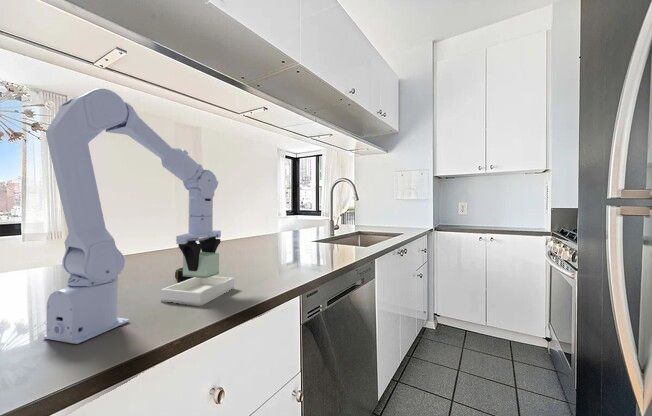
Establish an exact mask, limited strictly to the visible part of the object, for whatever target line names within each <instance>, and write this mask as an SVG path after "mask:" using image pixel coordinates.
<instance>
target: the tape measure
mask: <svg viewBox="0 0 652 416" xmlns="http://www.w3.org/2000/svg"><path fill="white" fill-rule="evenodd" d="M174 278H175V280H176V281H178V282H182V281H185V280H188V279H191V278H194V277H186V276H183V267H178V268H177V269H176V270H175V272H174Z"/></svg>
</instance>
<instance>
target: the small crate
mask: <svg viewBox="0 0 652 416" xmlns="http://www.w3.org/2000/svg"><path fill="white" fill-rule="evenodd" d="M182 268H183V276H186V277H197V278H209V277H211V276H217V275H219V274H220V252H215V253H209V252H202V251H200V255H199V263H198V269H197V271H189V270H188V266H187V263H186V259H185V257H184V255H183V254H182Z"/></svg>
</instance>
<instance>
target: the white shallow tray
mask: <svg viewBox="0 0 652 416" xmlns="http://www.w3.org/2000/svg"><path fill="white" fill-rule="evenodd" d="M233 288H234V289H235V277H226V276H217V275H214V276H211V277H209V278H197V277H194V278H191V279H188V280H185V281H183V282H182V281H179V282H178V283H175V284H172V285H170V286H167V287H163V288H161V289H160V302H161V303H167V302H173V303H172V304H176V303H179V305H185V304H186V306H195V307H202V306H203V305H205V304H207V303H209V302H211V301H213V300H215V299H217V298H219V297H220V296H223V295H224V293H225V294H227V293H228V292H230V291H232V290H234V289H233ZM231 289H232V290H231ZM229 290H230V291H229ZM226 292H227V293H226Z"/></svg>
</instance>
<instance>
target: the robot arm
mask: <svg viewBox="0 0 652 416" xmlns="http://www.w3.org/2000/svg"><path fill="white" fill-rule="evenodd" d="M103 131H105V132H106V133H110V134H117V135H118V134H119V135H126V136H128V137H130V138H131V139H133V140H134V141H136V143H138V144H140V146H142V147H144V148H145V149H147V150H148V151H150V152H151V153H153V154H154V155H155V156H157V157H159V158H160V160H161V165H162V167H163V168H164V169H165V170H166V171H168V172H170V173H171V174H173V176H175V177H177V178H178V179H179V180H180V181H182V183H183V187H184V188H185V190H187V191H188V232H187V233H183V234H179V235H176V237H175V238H176V239H175V241H176V242H175V243H176V244H177V245H178V248H179V250H180V251H181V253H182V256H183V255H184V257H185V259H186V263H187V266H188V270H189V271H197V269H198V263H199V255H200V252H209V253H217V249H218V247H219V245H220V244H221V243H222V242H221V236H222V235H221V234H222V231H221V230H216V229H215V230H213V227H214V225H213V221H214V220H213V217H214V216H213V214H214V213H213V211H214V210H213V208H214V207H213V206H214V202H213V201H214V197H215V191H216V189H217V188H218V185H219V180H217V177H216V175H215V174H214V172H213V171H212V170H209V169H204V167H203V165H202V164H201V163H198V162H197V161H195V160H194V159H193V158H192V157H191V156H190V155H189V152H188V151H187V150H186V149H181V148H180V147H179V148H178V147H175V148H173V147H171V146H170V145H169V144H168V143H167V142H166V141H165V140H164V139H163V138H162V137H161V136H160V135H159V134H158V133H157V132H156V131H154V130H153V128H151V127H150V126H149V125H148V124H147V123H146V122H145V121H144V120H143V119H142V118H141V117H140V116H139V115H138V114H137V112H136V111H135V109H134V107H133V106H132V105H131V104H130V103H128V102H127V101H124V99H123V98H122V97H121V95H119V94H117V93H116V92H115V91H113V90H110V89H107V88H99V87H98V88H95V89H93V90H91V91H88V92H87V93H84V94H83V95H80V96H76V97H73V98H70V99H69V100H67V101H66V102H63V103H62V104H60V105H59V106H58V111H57V113H56V114H55V116H54V118H53V119H52V120H51V122H50V124H49V125H48V127H47V129H46V131H45V137H46V141H47V146H48V150H49V155H50V158H51V163H52V167H53V171H54V176H55V180H56V181H55V182H56V184H57V189H58V193H59V198H60V202H61V206H62V210H63V215H64V219H65V223H66V228H67V233H68V234H67V236H66V239H65V240H64V246H65V252H64V255H63V258H62V267H63V269H64V271H65V272H66V273H68V274H69V278H68V279H67V285H65V287H63V288H61V289H58V290H56V291H53V292H52V293H50V294H49V296H48V298H47V302H46V334H45V335H43V339H46V340H52V341H57V342H63V343H69V344H73V345H74V344H75V345H77V344H81V343H82V342H86V341H88V340H89V339H92V338H94V337H97V336H99V335H101V334H104V333H106V332H108V331H111V330H113V329H115V328H117V327H119V326H122V325H124V324H127V323H128V322H130V319H129V318H125V317H118V299H119V298H118V291H119V290H118V289H119V288H118V285H119V284H118V281H119V280H118V276H119V275H120V274H121V272H122V271H123V270H124V267H125V257H124V255H123V253H122V252H121V251H120V250H119V249H118V247H117V245H116V241H115V239H114V237H113V236H112V235H111V233H110V232H109V231H108V229H107V228H106V224H105V223H106V222H105V219H104V214H103V209H102V204H101V200H100V194H99V190H98V185H97V180H96V175H95V170H94V166H93V162H92V156H91V152H90V147H89V143H90V142H91V141H93V140H94V139H95V138H96V137H97V136H99V135H100V134H101V133H102V132H103Z"/></svg>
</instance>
